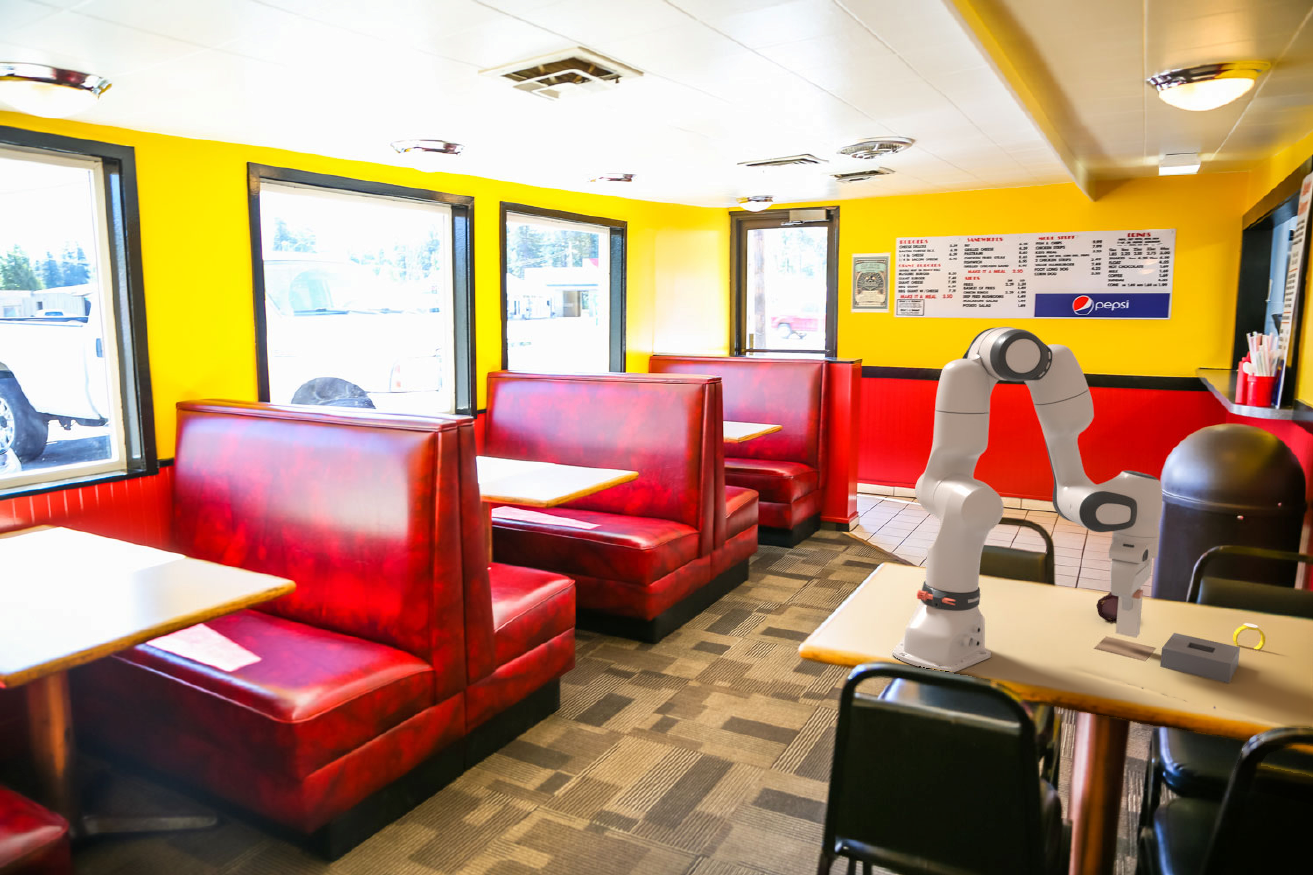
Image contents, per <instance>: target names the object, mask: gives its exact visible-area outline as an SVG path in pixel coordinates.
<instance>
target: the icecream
mask: <svg viewBox="0 0 1313 875" xmlns="http://www.w3.org/2000/svg"><path fill="white" fill-rule="evenodd" d="M1118 599H1119V596H1115V595H1112V593H1111V591H1109V593H1108V594H1107V595H1104V596H1102V597H1101V598H1100V599H1098V600H1097V603H1096V608H1097V609H1096V610H1097V614H1098V616H1099V617H1101V618H1102V619H1103V620H1105V621H1106V622H1108V623H1116V622H1117V611H1118Z"/></svg>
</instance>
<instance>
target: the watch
mask: <svg viewBox="0 0 1313 875" xmlns="http://www.w3.org/2000/svg"><path fill="white" fill-rule="evenodd" d="M1245 630H1249V631H1258V633H1259V634H1260V641H1259V643H1258V644H1257V645H1255V647H1253V649H1255V650H1262V649H1263V647H1264V646H1265V644H1266V634H1264V632H1263V630H1261V629H1260V628H1259V626H1258V625H1256V624H1254V623H1249V622H1245V623H1243V625H1241V626H1239V627H1237V628H1236V630H1234V633H1233V635H1232V642H1233V644H1234V646H1237V647H1240V645H1239V642H1238V638H1239V635H1240V634H1241V633H1242V632H1243V631H1245Z"/></svg>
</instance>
